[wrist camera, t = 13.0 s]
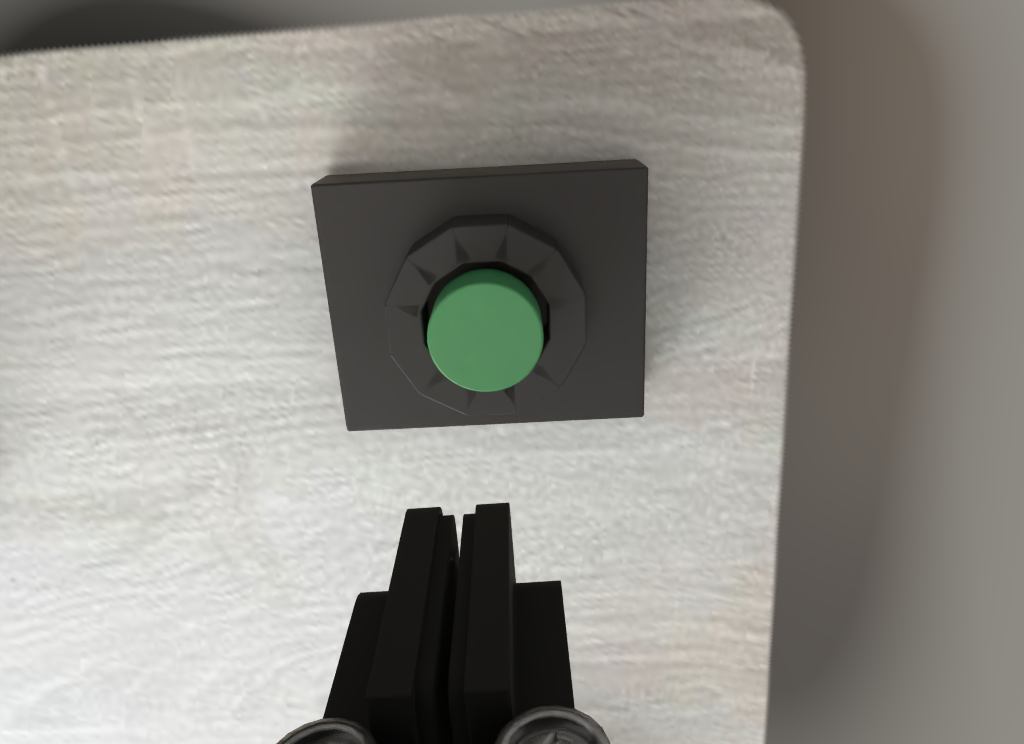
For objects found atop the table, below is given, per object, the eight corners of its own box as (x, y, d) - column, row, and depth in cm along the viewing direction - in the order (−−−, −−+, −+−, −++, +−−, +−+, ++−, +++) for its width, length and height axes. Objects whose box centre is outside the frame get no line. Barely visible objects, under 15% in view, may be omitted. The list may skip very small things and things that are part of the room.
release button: (539, 264, 24) (541, 279, 22) (543, 369, 25) (545, 390, 24) (426, 270, 24) (421, 285, 23) (436, 374, 26) (432, 395, 24)
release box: (637, 158, 26) (659, 174, 23) (634, 393, 30) (653, 440, 26) (325, 175, 27) (295, 193, 23) (357, 407, 30) (336, 455, 26)
